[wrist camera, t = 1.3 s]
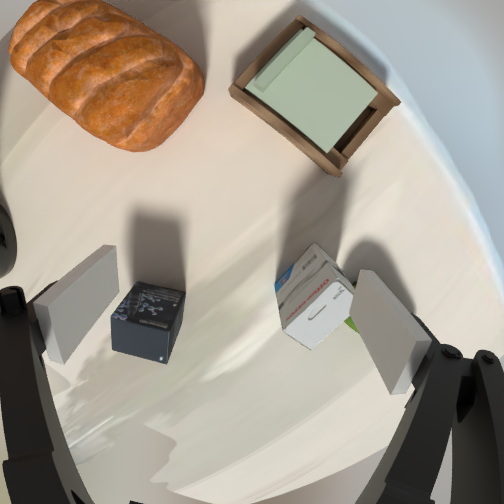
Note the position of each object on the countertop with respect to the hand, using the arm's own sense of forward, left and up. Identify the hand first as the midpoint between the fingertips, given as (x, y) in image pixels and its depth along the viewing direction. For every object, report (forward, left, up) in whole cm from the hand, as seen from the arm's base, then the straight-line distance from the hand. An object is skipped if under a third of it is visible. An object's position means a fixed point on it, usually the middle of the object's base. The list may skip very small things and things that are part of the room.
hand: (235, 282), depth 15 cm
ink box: (+13, -3, -25) cm, 28 cm away
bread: (-26, +4, -25) cm, 36 cm away
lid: (-2, +16, -21) cm, 27 cm away
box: (-1, -20, -25) cm, 32 cm away
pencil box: (-2, +16, -25) cm, 29 cm away
